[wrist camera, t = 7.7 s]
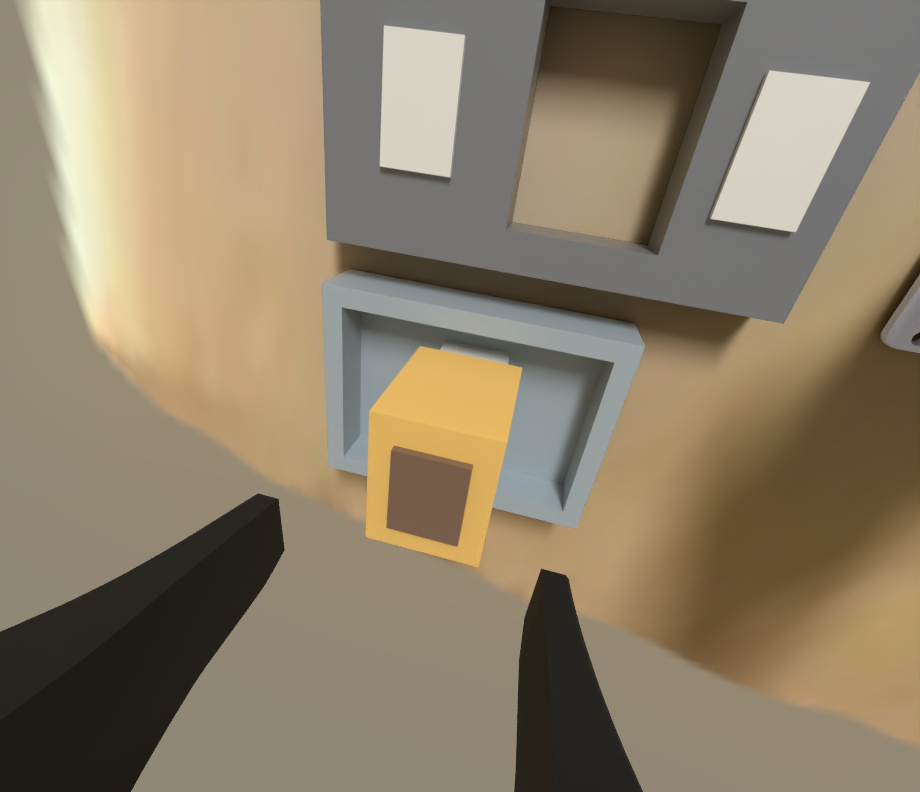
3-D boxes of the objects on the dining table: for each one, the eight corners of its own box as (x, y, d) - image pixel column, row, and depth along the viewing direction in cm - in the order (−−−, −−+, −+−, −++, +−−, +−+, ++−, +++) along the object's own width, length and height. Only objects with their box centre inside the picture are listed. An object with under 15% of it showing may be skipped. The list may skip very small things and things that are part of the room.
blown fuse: (526, 347, 18) (506, 448, 11) (503, 447, 20) (476, 573, 14) (433, 328, 18) (365, 415, 12) (423, 428, 21) (362, 542, 15)
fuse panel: (925, -27, 11) (999, -65, 9) (759, 305, 16) (786, 325, 14) (349, -77, 13) (313, -117, 11) (350, 232, 18) (324, 240, 16)
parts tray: (635, 323, 17) (645, 346, 15) (575, 492, 21) (576, 529, 19) (350, 268, 18) (321, 283, 16) (350, 437, 23) (328, 466, 21)
